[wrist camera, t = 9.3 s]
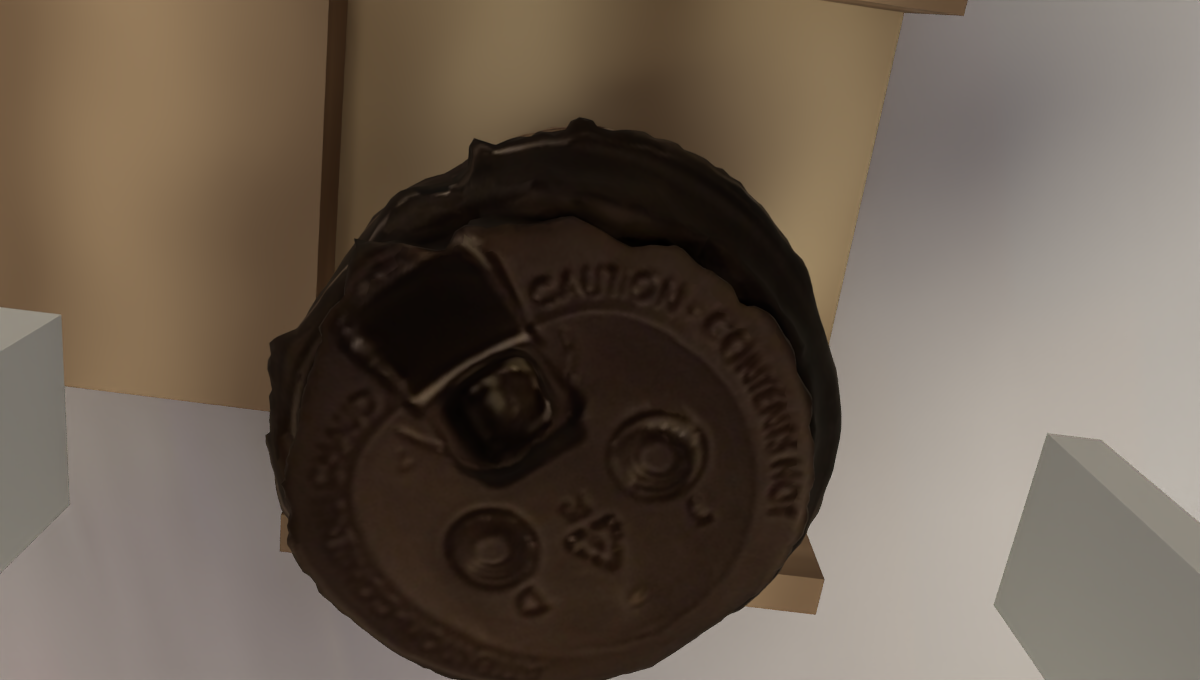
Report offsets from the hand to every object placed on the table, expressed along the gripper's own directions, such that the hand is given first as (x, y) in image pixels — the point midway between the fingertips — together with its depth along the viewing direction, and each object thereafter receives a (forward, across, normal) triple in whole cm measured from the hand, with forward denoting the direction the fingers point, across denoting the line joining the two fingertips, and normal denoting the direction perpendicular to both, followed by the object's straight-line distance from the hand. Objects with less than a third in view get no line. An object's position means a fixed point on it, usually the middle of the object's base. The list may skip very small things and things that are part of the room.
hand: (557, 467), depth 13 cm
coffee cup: (+13, 0, 0) cm, 13 cm away
